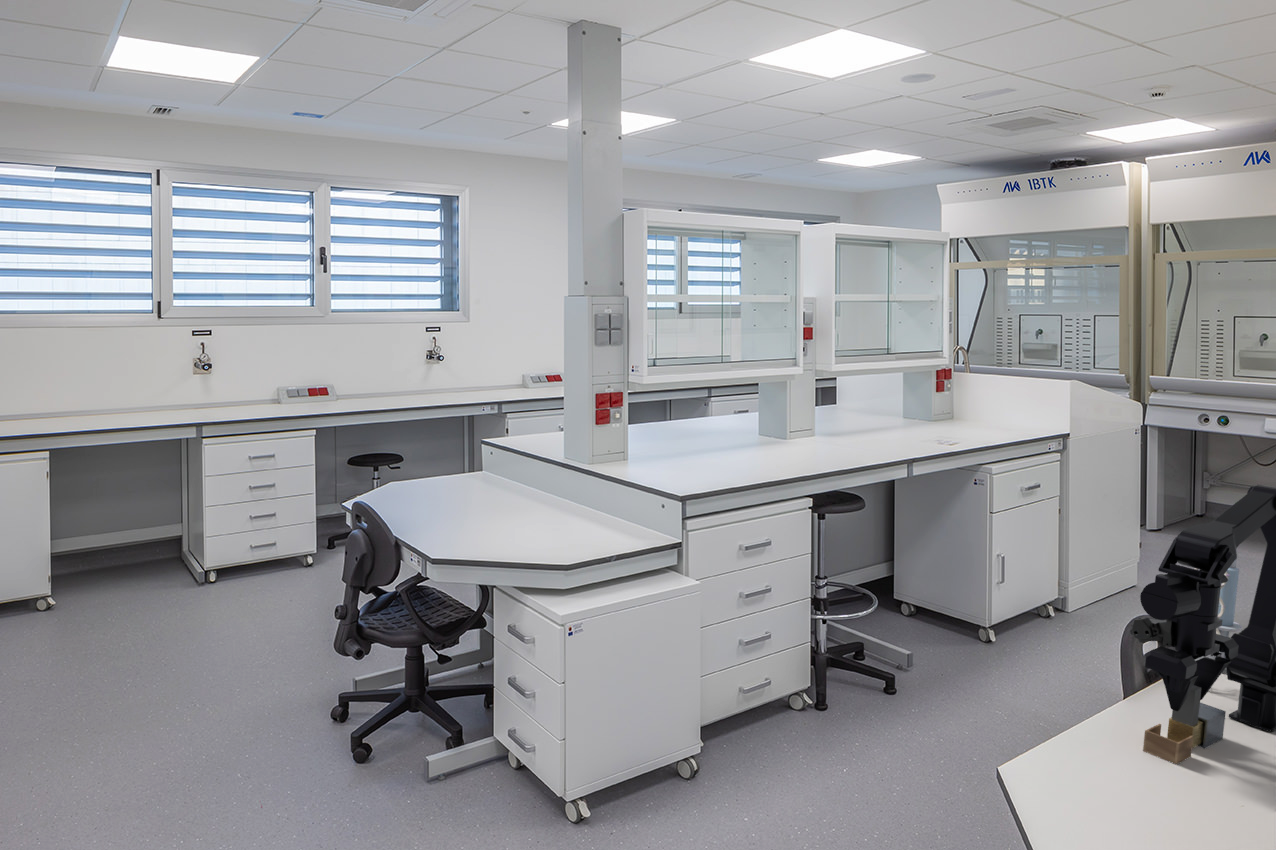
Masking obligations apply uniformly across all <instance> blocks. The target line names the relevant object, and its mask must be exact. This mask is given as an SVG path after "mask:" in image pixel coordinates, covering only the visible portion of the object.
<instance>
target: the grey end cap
mask: <svg viewBox="0 0 1276 850" xmlns="http://www.w3.org/2000/svg"><path fill="white" fill-rule="evenodd" d="M1226 712H1227V711H1226V710H1223V709H1220V708H1217V707H1214V706H1211V705H1208V704H1206V703H1203V702H1200V707H1199V716H1198V719H1200V720H1203V721H1206V722H1205V731H1204V740H1203V743H1201V744H1199V745H1198V746H1197V747H1199V748H1202V749H1207V748H1209V747H1210V746H1212V745H1214V744H1216V743H1218V742H1220V741H1221V740H1223V739H1224V732H1225V731H1224V729H1225V721H1226Z"/></svg>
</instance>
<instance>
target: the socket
mask: <svg viewBox="0 0 1276 850" xmlns="http://www.w3.org/2000/svg"><path fill="white" fill-rule="evenodd" d="M1161 730H1162V723H1158V724H1156V725H1154V726H1151V727H1150V728H1148V729H1145V730H1144V738H1143V747H1142V751H1143V752H1145V753H1147V752H1148V753H1147V754H1149V753H1150V755H1152V756H1155V757H1157V756H1158V757H1157V758H1159V757H1160V759H1161V760H1164V761H1166V760H1167V762H1169V761H1170V762H1169V763H1171V762H1173V763H1172V764H1174V763H1175V765H1176V764H1177V765H1179V764H1180V762H1181V763H1182V762H1184V761H1186V760H1187V758H1188V759H1189V757H1190V758H1191V756H1192V749H1193V748H1192V741H1193V736H1189V737H1187V738H1185V739H1183V740H1182V741H1180V742H1176V741H1173V740H1171V739H1168V738H1167V737H1165V736H1163V735H1161V734H1162V733H1161V732H1162V731H1161ZM1185 759H1186V760H1185ZM1178 763H1179V764H1178Z"/></svg>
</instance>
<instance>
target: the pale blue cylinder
mask: <svg viewBox="0 0 1276 850" xmlns="http://www.w3.org/2000/svg"><path fill="white" fill-rule="evenodd" d="M1237 549H1238V547H1237V548H1236V550H1237ZM1237 559H1238V558H1237ZM1237 559H1236V560H1235V561H1234V562H1233V563H1232V565H1231V566H1230V567H1229V569H1228V570H1227V571H1226V572H1227V573H1228V574H1229V575H1230V576H1228V581H1227V583H1226V584H1225V586H1224V587H1223V588H1222V589H1221V590H1220V597H1221V599H1222V600H1223V602H1224V605H1225V611H1224V613H1223V615H1222V617H1221V618H1220V619H1222V626H1220V627H1218V630H1219V632H1220V634H1221V635H1222V636H1226V637H1229V636H1230V633H1231V632H1232V633H1234V632H1235V633H1236V632H1238V633H1239V632H1241V631H1242V630H1243V626H1242V625H1241V623H1237V622H1235V612H1236V602H1237V594H1238V593H1237V592H1238V585H1239V575H1240V568H1238V567H1237V562H1238V561H1237ZM1221 584H1222V583H1221ZM1219 606H1221V604H1220V602H1219ZM1220 611H1221V608H1218V615H1219V613H1220ZM1229 638H1230V637H1229ZM1219 653H1222V655H1221V657H1222V658H1226V657H1225V653H1224V652H1219ZM1221 674H1227V669H1226V668H1225V669H1224V671H1223V672H1222V673H1221Z"/></svg>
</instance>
